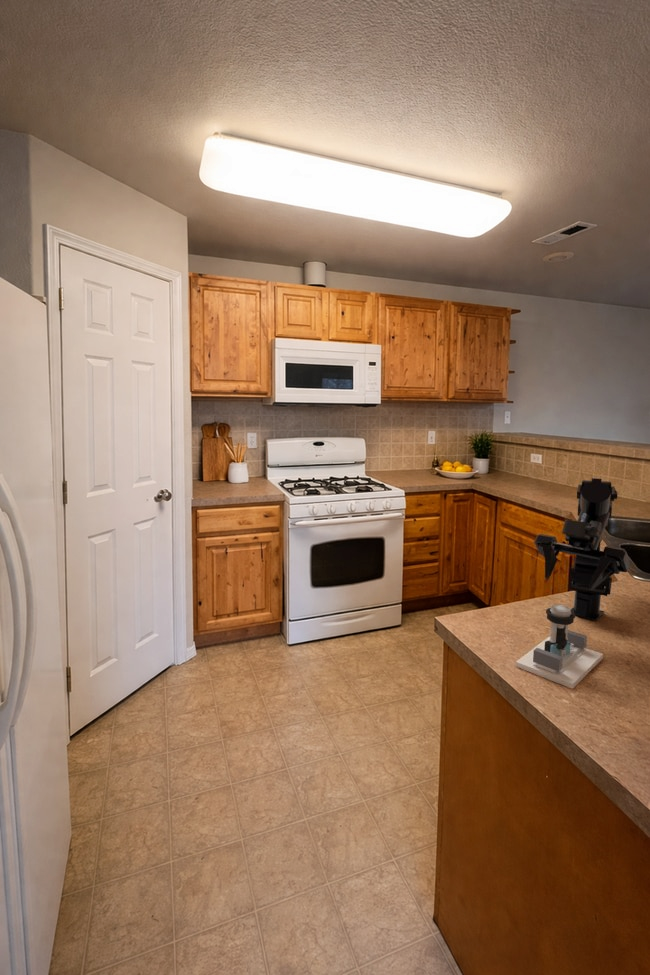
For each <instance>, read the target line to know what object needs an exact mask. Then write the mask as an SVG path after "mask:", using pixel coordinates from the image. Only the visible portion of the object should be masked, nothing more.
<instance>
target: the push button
mask: <svg viewBox="0 0 650 975" xmlns="http://www.w3.org/2000/svg"><path fill="white" fill-rule="evenodd" d="M571 609H572V608H570V607H568V606H567V605H562V604H553V605H551V606H550V607H549V608H546V609H545V614H546V619H547V620H548V621H549V622H550V640H549V641H546V642H545V649H544V650H545V651H548V652H551V653H554V654H556V655H559V656H562V657H565V656H566V655H568V654H570V650H573V649H574V648H572V647H570V646H573V645H574V644H572V643H570V642H568V641H567V640H568V638H567V633H568V630H569V625H572V624H573V623H574V620H575V618H576V615H575V614H574V613H573V612H572V611H571ZM571 644H572V645H571ZM570 648H572V649H570Z"/></svg>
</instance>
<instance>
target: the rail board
mask: <svg viewBox="0 0 650 975" xmlns="http://www.w3.org/2000/svg"><path fill="white" fill-rule="evenodd" d="M550 636H551V635H550ZM550 636H547V637H546V638H545V639H544V640H543V641H541V642H540V643H539V644H537V645H536V646H535V647H533V648H532V649H531V650H529V651H528V652H526V654H524V655H523V656H521V657H520V658H519V659H518V660H516V661H515V667H516V668H518V669H521V670H523V671H526V672H529V673H532V674H534V675H536V676H539V677H540V678H541V677H542V678H544V679H547V680H549V681H552V682H554V683H557V684H559V685H562V686H564V687H567V688H569V689H572V690H573V689H575V687H576V686H577V685H578V684H579V683H580V682H581V681H582V680H584V678H585V677H586V676H587V675H588V674H589V673H590V671H592V670H593V669H594V668H595V667H596V666H597V665H598V664H599V663H600V662H601V661H602V660H603V659H604V658H603V657H604V654H603V653H601V652H598V651H596V650H592V649H589V648H587V642H588V640H587V639H588V635H585V634H584V633H583V634H582V633H580V632H575V631H573V630H569V629H568V633H567V638H568V640H567V641H568V642H570V643H572V644H574V645H573V646H570V647H572V648H574V649H573V650H570V654H568V655H566V656H565V657H562V656H559V655H556V654H554V653H551V652H548V651H545V650H544V649H545V642H546V641H549V640H550ZM572 644H571V645H572ZM572 648H570V649H572Z"/></svg>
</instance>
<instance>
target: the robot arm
mask: <svg viewBox="0 0 650 975" xmlns="http://www.w3.org/2000/svg"><path fill="white" fill-rule="evenodd" d="M576 490H577V491H576V500H578V504H577V520H572V519H565V520H564V522H563V527H562V531H561V534H562V535H565V537H564V539H565V541H566V542H567V544H566V543H561V542H558V539H557V537H556V536H555V535H554V536H553V535H549V534H543V533H539V534H538V535H536V536H535V538H534V542H533V543H534V545H535V547H536V549H537V551H538V553H539V554H540V555H541V556H542V557H543V558H544V577H545V580H549V579H550V577H551V576H552V573H553V571H554V569H555V567H556V564H557V562H558V557H557V556H559V555H560V552H561V553H564V554H570V555H575V559H574V564H573V566H570V569H569V570H570V572H569V585H568V586H569V588H568V590H569V591H574V601H573V604H574V605H573V607H572V608H570V609H571V611H572V612H573V613H574V614H575V616H577V617H581V618H584V619H587V620H591V621H597V620H598V619H599V618H601V617H602V616H603V615H604V614H605V611H604V610H600V608H601V596H604V597H608V595H611V591H612V581H613V578H612V577H611V576H613V575H620V574H621V573H627V572H628V571H629V568H630V563H631V562H630V558H629V556H628V555H629V554H628V552H627V551H626V549H625V548H622V547H616V546H610V545H606V546H605V547H604V548H603V551H602V550H601V543H602V541H603V538H602V537H603V536H602V535H603V533H604V530H605V528H606V527H608V523H609V519H610V520H611V519H612V513H613V511H612V510H613V502H615V500H617V499H618V494H619V493H618V491H617V490H616V488H615V486H614V485H613V486H612V481H603V480H602V478H594V477H593V478H591V480H588V479H587V480H585V479H583V480H582V481H581V484H578V485H577V489H576ZM620 572H621V573H620Z"/></svg>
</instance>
